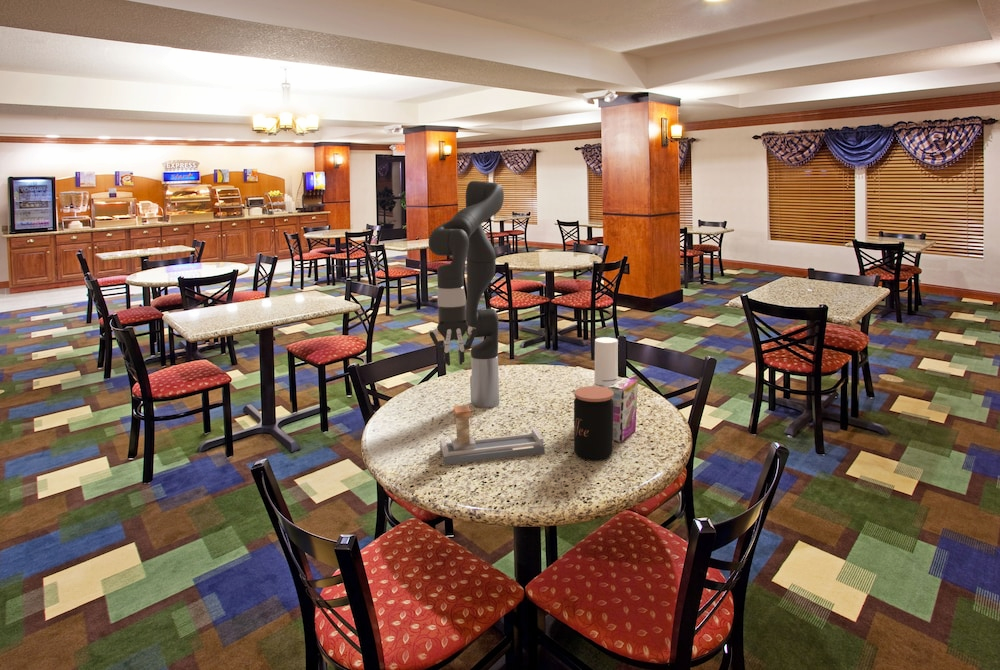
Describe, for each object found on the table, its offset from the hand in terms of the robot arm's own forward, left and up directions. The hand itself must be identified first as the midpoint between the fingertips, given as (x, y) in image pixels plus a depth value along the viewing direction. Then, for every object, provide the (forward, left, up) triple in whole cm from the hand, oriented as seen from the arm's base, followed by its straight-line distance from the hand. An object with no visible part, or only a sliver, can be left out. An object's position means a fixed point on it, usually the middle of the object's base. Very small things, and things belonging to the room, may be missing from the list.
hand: (454, 364), depth 168 cm
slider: (+5, -2, -23) cm, 23 cm away
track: (+9, +5, -25) cm, 27 cm away
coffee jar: (+30, +24, -25) cm, 46 cm away
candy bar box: (+28, +40, -25) cm, 55 cm away
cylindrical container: (+14, +50, -25) cm, 58 cm away
